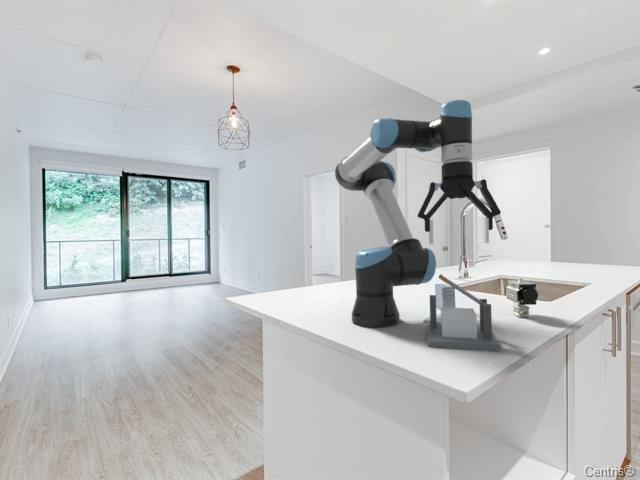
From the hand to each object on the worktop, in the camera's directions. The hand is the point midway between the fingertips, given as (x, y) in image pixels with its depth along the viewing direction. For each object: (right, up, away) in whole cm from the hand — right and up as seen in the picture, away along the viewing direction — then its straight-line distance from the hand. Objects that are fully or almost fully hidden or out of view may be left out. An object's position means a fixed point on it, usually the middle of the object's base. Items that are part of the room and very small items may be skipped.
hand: (458, 243), depth 89 cm
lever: (0, -13, -2) cm, 13 cm away
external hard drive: (+2, -25, +18) cm, 31 cm away
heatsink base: (0, -25, -2) cm, 25 cm away
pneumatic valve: (+27, -24, +18) cm, 40 cm away
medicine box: (+8, -24, +30) cm, 39 cm away
